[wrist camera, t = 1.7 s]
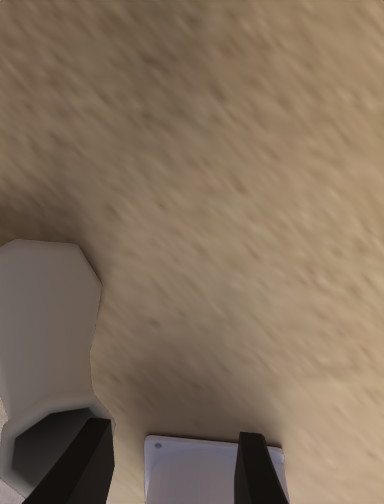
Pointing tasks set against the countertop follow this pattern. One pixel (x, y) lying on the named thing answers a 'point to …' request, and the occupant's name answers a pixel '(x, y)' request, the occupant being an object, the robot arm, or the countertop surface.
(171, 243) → the countertop surface
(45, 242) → the flask
